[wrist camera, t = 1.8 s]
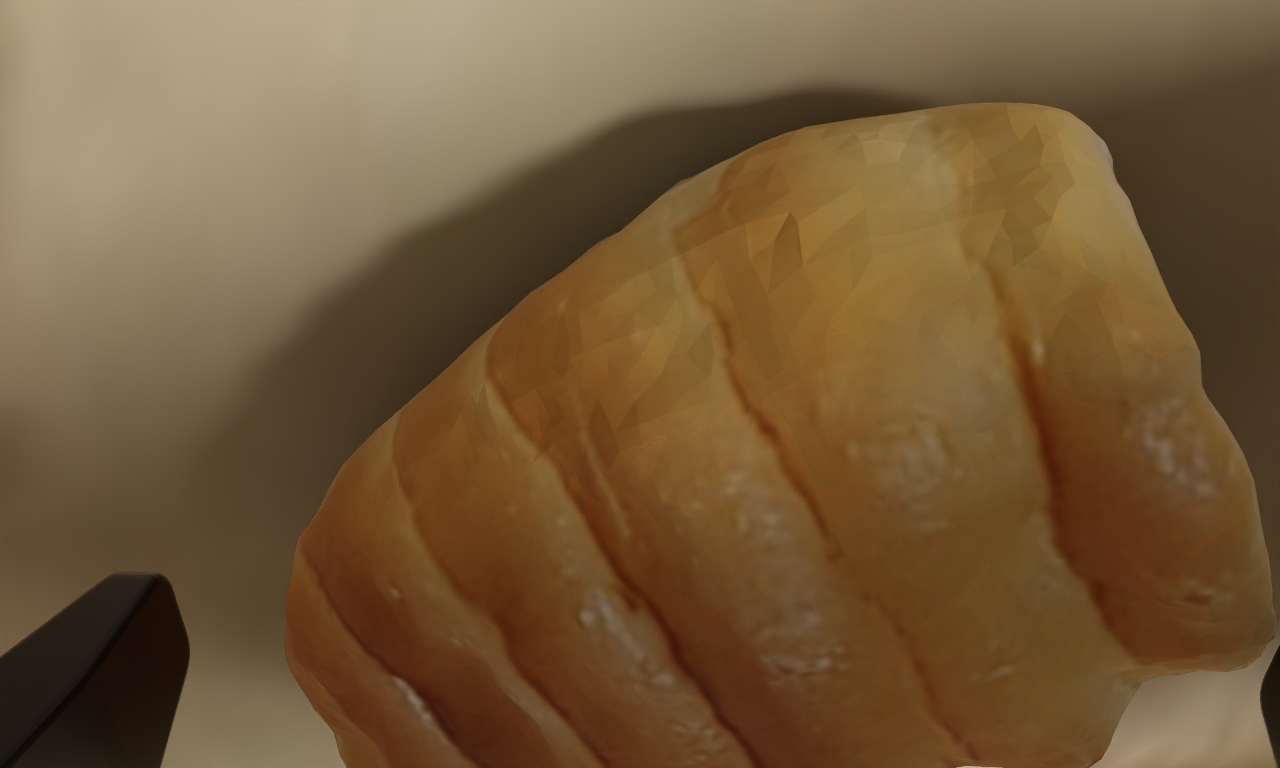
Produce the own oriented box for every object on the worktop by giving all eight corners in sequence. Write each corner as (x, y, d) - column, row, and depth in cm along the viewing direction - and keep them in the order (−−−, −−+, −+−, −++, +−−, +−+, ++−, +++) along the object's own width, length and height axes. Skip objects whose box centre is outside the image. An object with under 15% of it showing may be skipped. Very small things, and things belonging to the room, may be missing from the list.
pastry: (499, 789, 15) (471, 1092, 12) (157, 409, 12) (-9, 678, 9) (1208, 507, 13) (1410, 780, 10) (1018, -42, 10) (1223, 91, 7)
